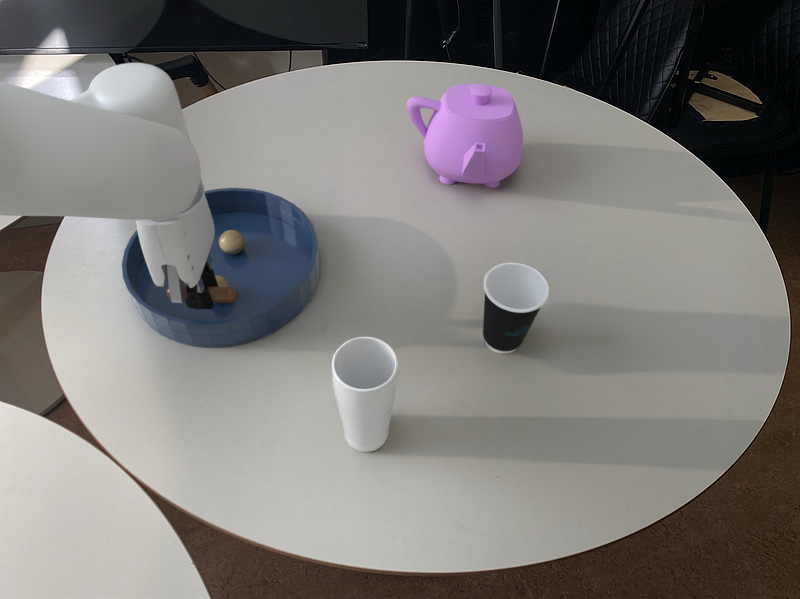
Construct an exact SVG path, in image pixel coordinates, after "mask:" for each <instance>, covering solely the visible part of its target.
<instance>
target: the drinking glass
mask: <svg viewBox="0 0 800 599" xmlns="http://www.w3.org/2000/svg"><path fill="white" fill-rule="evenodd" d="M331 381H332V388H333V394H334V398H335V402H336V406H337V409H338V412H339V417H340V421H341V425H342V430H343V431H342V432H343V437H344V440H345V442H346V443H347V444H348V446H349V447H351V448H352V449H353V450H355V451H357V452H360V453H361V452H362V453H370V452H371V453H372V452H374V451H377V450H379V449H381V447H382V446H384V444H385V443H386V441H387V440H388V438H389V434H390V424H391V419H392V415H393V411H394V406H395V401H396V398H397V397H396V396H397V391H398V384H399V360H398V356H397V353H396V352H395V350H394V349H393V347H392V346H391V345H390V344H388V343H387V342H386V341H384V340H383V339H381V338H377V337H375V336H374V337H373V336H357V337H353V338H350V339H348V340H346V341H345V342H343V343H342V344H340V346H338V348H337V349H336V350H335V352H334V354H333V356H332V359H331Z"/></svg>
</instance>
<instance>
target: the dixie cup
mask: <svg viewBox="0 0 800 599" xmlns="http://www.w3.org/2000/svg"><path fill="white" fill-rule="evenodd" d="M482 285H483V291H484V305H483V322H482V337H483V340H484V343H485V345H486V346H487V348H488V349H489V350H490V351H492V352H493V353H496V354H500V355H508V354H509V355H510V354H511V353H514V352H515V351H516V350H517V349H518V348H520V346H521V345H522V344H523V342H524V341H525V338H526V336H527V335H528V333H529V331H530V329H531V326H532V325H533V323H534V321H535V320H536V318H537V316H538V314H539V311H540V310H541V308H542V307H543V306H544V305H545V303H546V302H547V301H548V299H549V297H550V286H549V282H548V281H547V280H546V277H545V276H544V275H543V274H542V273H541V272H540V271H539V270H538V269H536V268H534V267H532V266H530V265H528V264H524V263H520V262H512V261H511V262H503V263H499V264H497V265H495V266H493V267H491V268H490V269H489V270H488V271H487V272H486V274H485V275H484V277H483V284H482Z"/></svg>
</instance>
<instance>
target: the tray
mask: <svg viewBox="0 0 800 599" xmlns="http://www.w3.org/2000/svg"><path fill="white" fill-rule="evenodd" d="M205 197H206V200H207V202H208V205H209V208H210V211H211V215H212V218H213V222H214V228H215V234H214V239H213V243H212V246H211V249H210V255H211V258H212V267H211V268H209V269H213V271H214V274H215V276H222V277H224V278H225V279H226V280H227V281H228V282H229V284H230V287H231V288H234V289H235V290H236V291H237V292H238V298H237V300H236V301H235V302H233V303H217V302H213V304H214V306H213V309H193V308H189V307H187V304H186V302H185V301H184V303H172V302H171V299H170V298H169V297H168V296H167V294H166V290H167V288H168V287H169V283H168V276H167V279H166V281H165V284H164V286H163V287H160V286H156V285H155V283H154V281H153V279H152V277H151V274H150V272H149V269H148V266H147V263H146V260H145V257H144V254H143V251H142V248H141V244H140V240H139V236H138V231H137V229H136V230H135V231H134V233H133V234H132V235H131V237H130V238H129V240H128V242H127V244H126V246H125V249H124V250H123V256H122V261H121V271H122V279H123V282H124V285H125V286H126V289H127V292H128V293H129V295H130V297H131V300H132V301H133V304H134V306H135V308H136V310H137V312H138V314H139V315H140V316H141V318H142V320H144V322H145V323H146V324H147V325H148V326H149V327H150V328H151V329H153V330H154V331H155V332H157V333H158V335H160V336H163V337H165V338H167V339H169V340H171V341H174V342H176V343H178V344H179V343H180V344H182V345H186V346H191V347H199V348H227V347H234V346H239V345H245V344H248V343H251V342H254V341H257V340H260V339H262V338H265V337H267V336H269V335H271V334H273V333H275V332H276V331H279V330H281V329H282V328H283V327H285V326H286V325H288V324H289V323H291V322H292V321H293V320H294V319H295V318H297V316H298V315H299V314H301V313H302V311H303V310H304V309H305V308H306V307H307V305H308V304H309V302H310V301H311V299H312V298H313V297H314V294H315V292H316V289H317V287H318V284H319V279H320V271H321V270H320V269H321V268H320V267H321V266H320V257H319V256H320V255H319V245H318V236H317V233H316V230H315V228H314V225H313V223H312V222H311V220H310V219H309V217H308V215H307V214H306V213H305V212H304V211H303V210H302V209H300V208H299V207H298V206H297V205H296V204H294V203H293V202H291V201H289V200H288V199H286V198H284V197H282V196H280V195H278V194H274V193H271V192H268V191H264V190H260V189H255V188H248V187H247V188H246V187H245V188H244V187H242V188H241V187H225V188H224V187H223V188H213V189H209V190H205ZM227 230H236V231H238V232H239V233H241V234H242V236H243V237H244V241H245V244H244V248H243V249H242V251H241V252H239V253H237V254H234V255H230V254H227V253H225V252H224V251H223V250H222V249H221V248H220V245H219V239H220V236H221V235H222V234H223V233H224V232H225V231H227Z"/></svg>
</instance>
